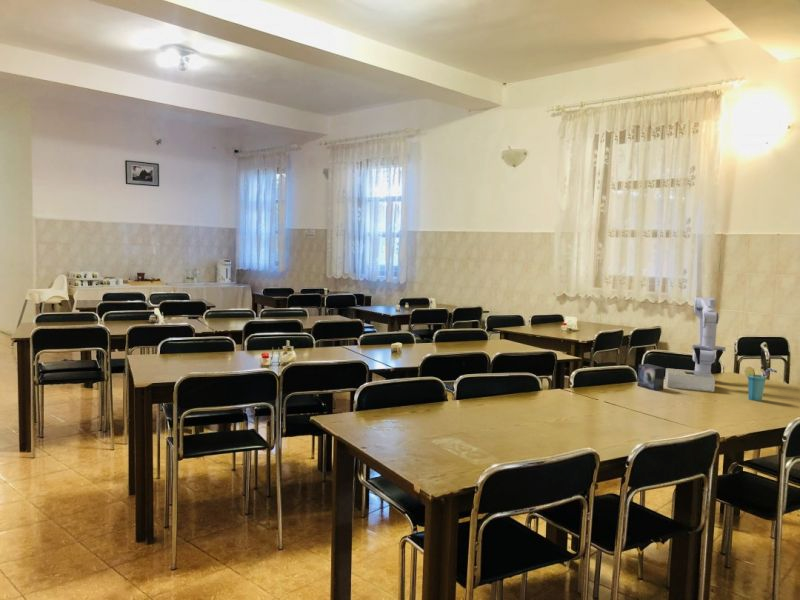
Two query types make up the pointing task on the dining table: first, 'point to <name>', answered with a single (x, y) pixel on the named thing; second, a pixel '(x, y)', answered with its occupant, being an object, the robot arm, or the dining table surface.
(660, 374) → the small box
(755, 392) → the cup
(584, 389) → the dining table surface
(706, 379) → the cash box
